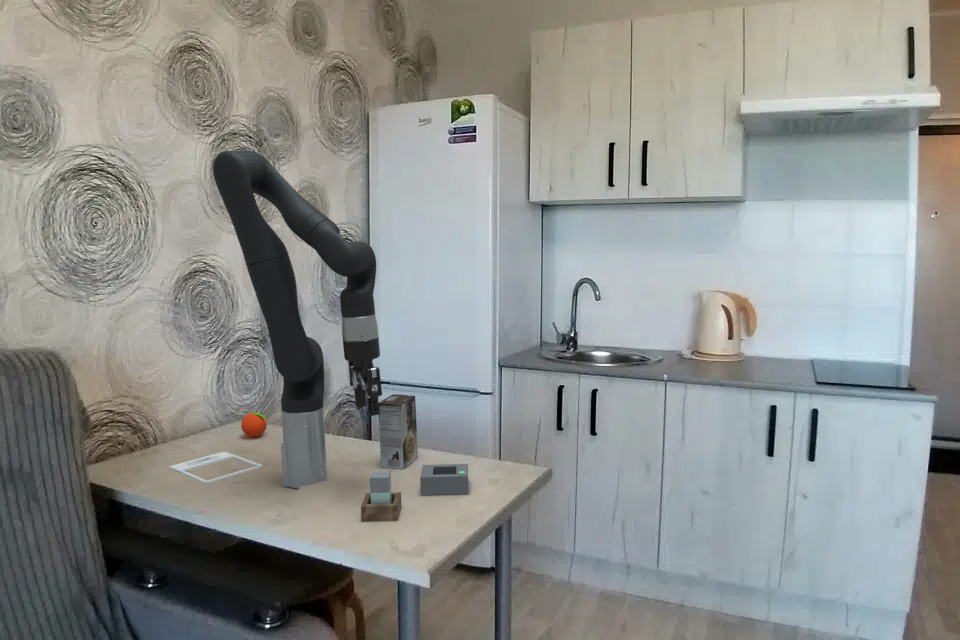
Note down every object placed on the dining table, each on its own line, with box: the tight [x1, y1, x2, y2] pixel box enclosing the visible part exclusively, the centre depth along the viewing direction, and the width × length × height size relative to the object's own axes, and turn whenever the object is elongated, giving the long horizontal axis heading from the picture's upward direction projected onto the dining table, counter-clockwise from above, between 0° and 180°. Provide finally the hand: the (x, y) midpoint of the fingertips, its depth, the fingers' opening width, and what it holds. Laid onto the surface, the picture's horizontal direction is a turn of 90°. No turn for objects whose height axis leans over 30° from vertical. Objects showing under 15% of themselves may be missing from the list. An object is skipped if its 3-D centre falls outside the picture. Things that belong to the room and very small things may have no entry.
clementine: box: [240, 411, 268, 438], centre depth 195 cm, size 8×7×7 cm
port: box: [419, 463, 469, 497], centre depth 150 cm, size 10×8×5 cm
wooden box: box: [360, 491, 403, 523], centre depth 137 cm, size 7×7×4 cm
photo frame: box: [168, 451, 264, 484], centre depth 170 cm, size 15×1×18 cm
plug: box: [369, 470, 392, 504], centre depth 136 cm, size 4×4×8 cm
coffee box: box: [378, 394, 419, 470], centre depth 170 cm, size 9×6×16 cm
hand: (367, 410), depth 149 cm, fingers open, 8 cm apart
